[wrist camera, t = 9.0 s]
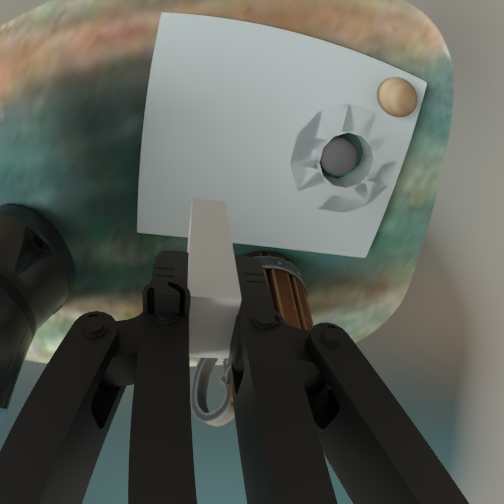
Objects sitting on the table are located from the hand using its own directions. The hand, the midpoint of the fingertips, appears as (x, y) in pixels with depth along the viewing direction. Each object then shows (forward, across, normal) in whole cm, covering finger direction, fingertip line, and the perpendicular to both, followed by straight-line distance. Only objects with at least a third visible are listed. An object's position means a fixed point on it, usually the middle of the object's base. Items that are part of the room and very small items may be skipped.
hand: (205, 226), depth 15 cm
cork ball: (+11, +15, +9) cm, 20 cm away
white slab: (+15, +7, +2) cm, 17 cm away
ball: (+13, +12, +2) cm, 18 cm away
